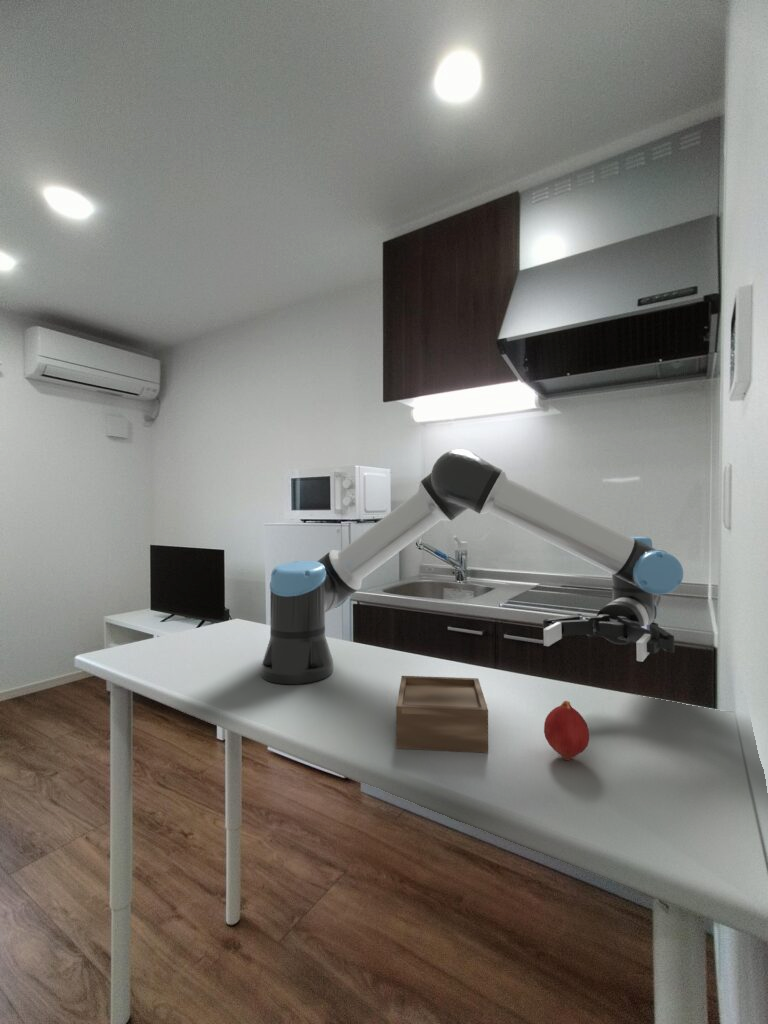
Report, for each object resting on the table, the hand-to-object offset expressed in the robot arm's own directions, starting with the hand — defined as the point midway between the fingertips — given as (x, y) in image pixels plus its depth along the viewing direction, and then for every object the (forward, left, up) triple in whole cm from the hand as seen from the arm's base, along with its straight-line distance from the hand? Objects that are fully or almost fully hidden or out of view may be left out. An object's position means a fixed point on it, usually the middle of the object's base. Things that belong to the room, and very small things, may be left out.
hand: (589, 644), depth 70 cm
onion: (+8, -6, -14) cm, 17 cm away
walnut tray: (+1, -23, -14) cm, 27 cm away
